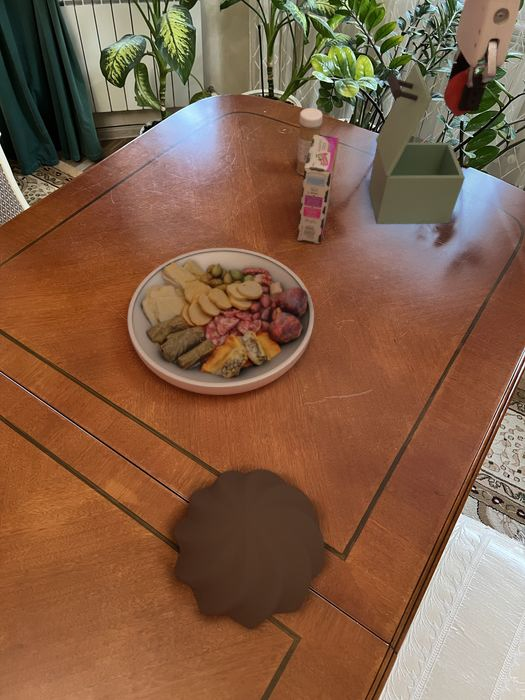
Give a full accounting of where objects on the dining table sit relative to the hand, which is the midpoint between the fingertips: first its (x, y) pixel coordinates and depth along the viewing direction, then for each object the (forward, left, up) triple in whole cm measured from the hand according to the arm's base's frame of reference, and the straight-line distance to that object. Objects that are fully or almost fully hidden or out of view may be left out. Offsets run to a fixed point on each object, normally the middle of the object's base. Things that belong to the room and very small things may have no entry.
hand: (462, 97), depth 92 cm
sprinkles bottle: (+21, -20, -28) cm, 40 cm away
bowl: (+39, +25, -28) cm, 54 cm away
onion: (0, 0, -3) cm, 3 cm away
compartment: (+1, -8, -27) cm, 29 cm away
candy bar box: (+21, -2, -28) cm, 35 cm away
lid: (+6, -8, -9) cm, 13 cm away
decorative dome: (+35, +61, -28) cm, 76 cm away
